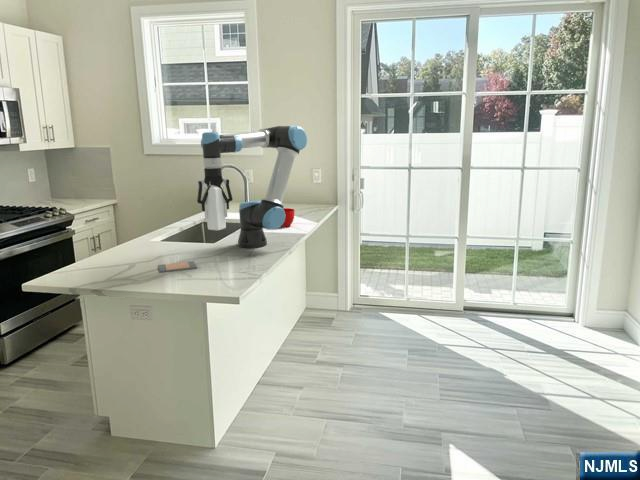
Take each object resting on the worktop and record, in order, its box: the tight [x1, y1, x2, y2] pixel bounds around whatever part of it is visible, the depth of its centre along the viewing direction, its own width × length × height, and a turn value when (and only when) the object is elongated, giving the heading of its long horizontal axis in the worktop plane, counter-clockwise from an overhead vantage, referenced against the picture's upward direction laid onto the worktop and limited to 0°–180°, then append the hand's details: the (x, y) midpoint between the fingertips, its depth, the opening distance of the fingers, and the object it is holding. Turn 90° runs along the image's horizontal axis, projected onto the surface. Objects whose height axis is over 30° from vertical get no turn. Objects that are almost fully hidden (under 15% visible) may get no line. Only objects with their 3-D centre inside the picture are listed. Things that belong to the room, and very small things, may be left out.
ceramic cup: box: [280, 207, 295, 228], centre depth 312 cm, size 13×17×10 cm
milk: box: [204, 185, 227, 231], centre depth 229 cm, size 6×6×22 cm
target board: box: [157, 260, 198, 274], centre depth 228 cm, size 16×11×1 cm
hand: (216, 217), depth 231 cm, fingers closed on milk, 8 cm apart
